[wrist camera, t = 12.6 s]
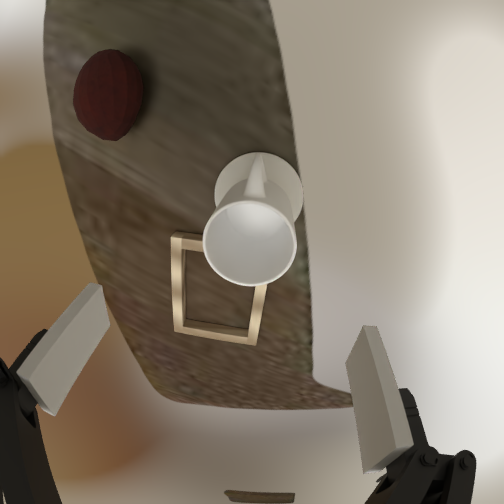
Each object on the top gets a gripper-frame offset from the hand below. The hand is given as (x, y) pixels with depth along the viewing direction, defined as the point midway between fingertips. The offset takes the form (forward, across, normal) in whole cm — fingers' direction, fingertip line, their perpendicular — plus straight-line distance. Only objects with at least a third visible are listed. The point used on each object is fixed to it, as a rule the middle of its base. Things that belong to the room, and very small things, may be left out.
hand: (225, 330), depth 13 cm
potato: (+25, -19, +12) cm, 33 cm away
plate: (+25, 0, 0) cm, 25 cm away
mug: (+24, 0, 0) cm, 24 cm away
